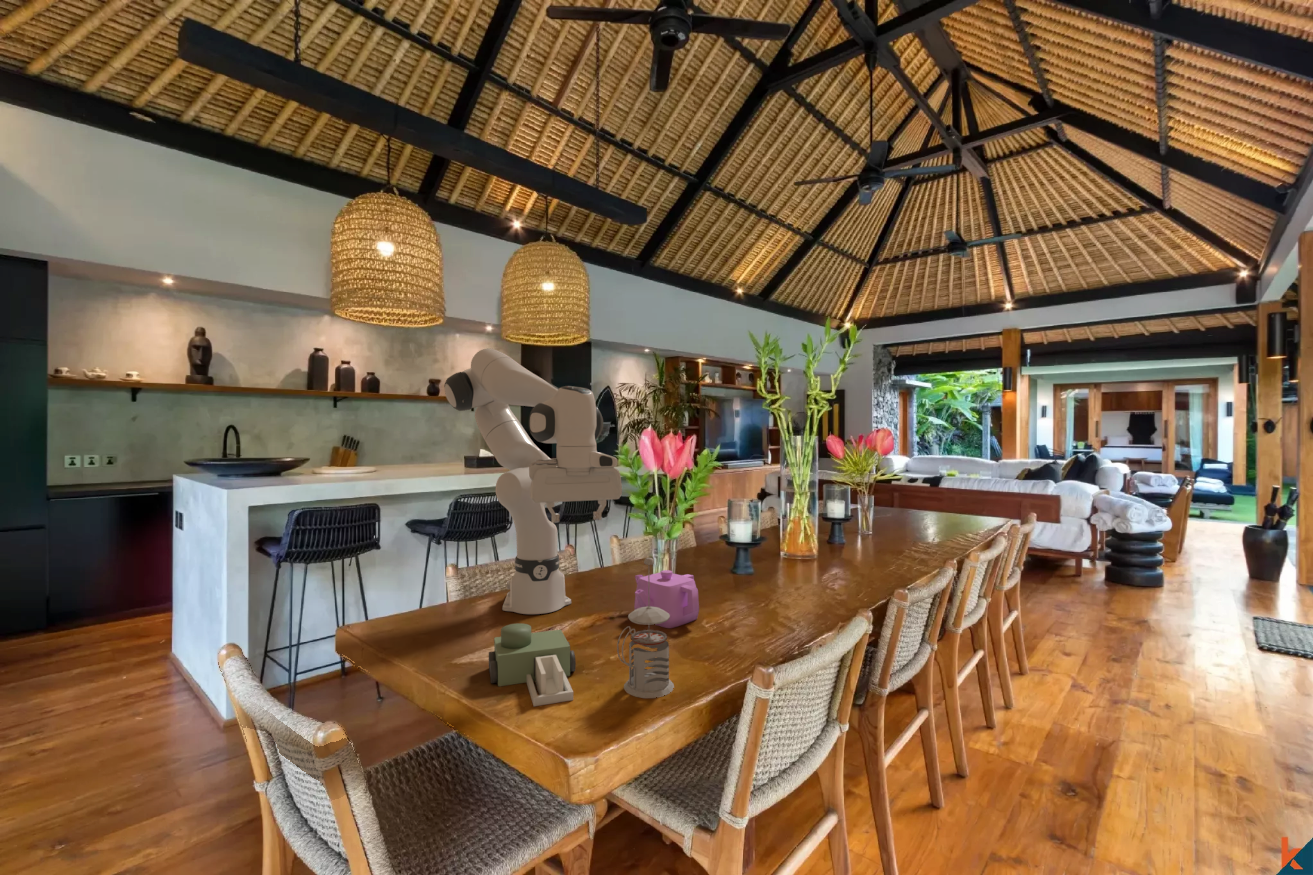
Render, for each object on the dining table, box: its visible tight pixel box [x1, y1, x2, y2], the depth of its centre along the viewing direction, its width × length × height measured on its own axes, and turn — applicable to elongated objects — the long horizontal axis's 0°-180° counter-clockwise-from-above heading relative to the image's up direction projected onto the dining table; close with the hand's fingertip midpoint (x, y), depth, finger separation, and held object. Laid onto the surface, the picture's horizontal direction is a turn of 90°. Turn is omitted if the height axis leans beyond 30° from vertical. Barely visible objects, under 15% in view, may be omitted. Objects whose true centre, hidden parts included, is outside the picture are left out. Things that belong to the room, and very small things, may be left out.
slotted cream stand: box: [535, 655, 564, 695], centre depth 109 cm, size 8×4×5 cm, turn 20°
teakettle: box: [634, 569, 700, 629], centre depth 150 cm, size 17×17×12 cm
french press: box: [616, 557, 675, 699], centre depth 110 cm, size 10×12×25 cm
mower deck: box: [488, 623, 577, 707], centre depth 112 cm, size 20×16×9 cm
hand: (576, 521), depth 127 cm, fingers open, 8 cm apart
